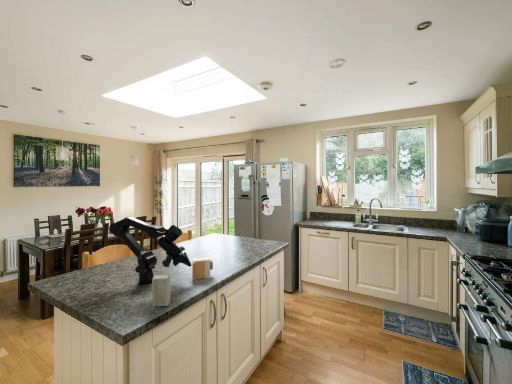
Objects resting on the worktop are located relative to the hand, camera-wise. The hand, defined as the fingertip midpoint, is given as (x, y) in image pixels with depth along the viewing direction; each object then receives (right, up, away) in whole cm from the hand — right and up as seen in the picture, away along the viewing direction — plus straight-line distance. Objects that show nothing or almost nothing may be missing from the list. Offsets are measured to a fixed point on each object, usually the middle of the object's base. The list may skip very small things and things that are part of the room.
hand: (190, 266), depth 129 cm
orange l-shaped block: (+4, -8, +2) cm, 9 cm away
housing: (+4, -8, +8) cm, 12 cm away
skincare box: (-6, -9, -25) cm, 28 cm away
